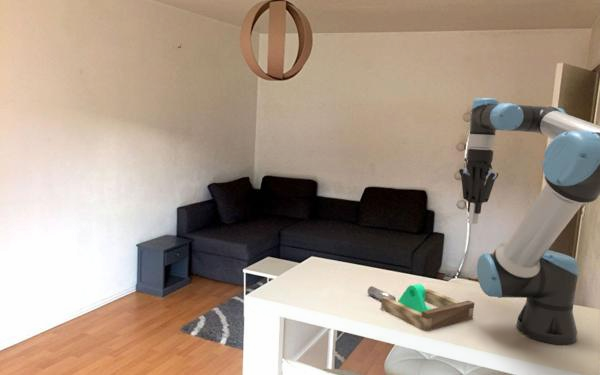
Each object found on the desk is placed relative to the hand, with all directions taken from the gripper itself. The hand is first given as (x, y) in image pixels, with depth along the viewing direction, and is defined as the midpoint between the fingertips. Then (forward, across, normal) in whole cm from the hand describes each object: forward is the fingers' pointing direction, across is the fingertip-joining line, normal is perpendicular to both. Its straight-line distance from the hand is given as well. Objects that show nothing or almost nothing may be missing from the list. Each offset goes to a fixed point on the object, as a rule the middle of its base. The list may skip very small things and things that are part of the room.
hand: (472, 223), depth 152 cm
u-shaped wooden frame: (+26, -1, +19) cm, 33 cm away
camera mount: (+27, -2, +23) cm, 36 cm away
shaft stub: (+25, +14, +22) cm, 36 cm away
